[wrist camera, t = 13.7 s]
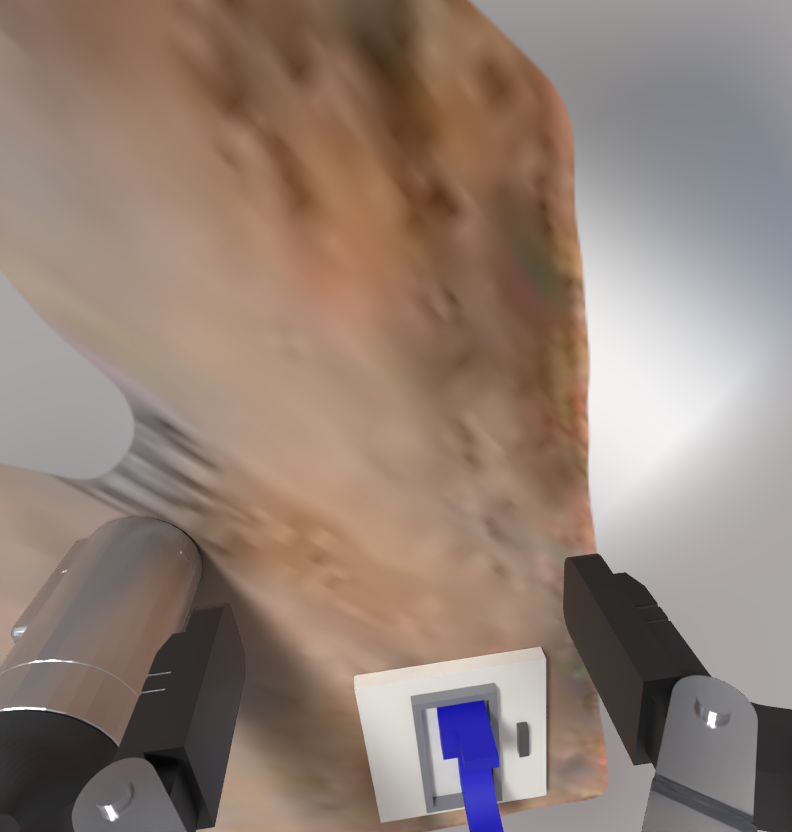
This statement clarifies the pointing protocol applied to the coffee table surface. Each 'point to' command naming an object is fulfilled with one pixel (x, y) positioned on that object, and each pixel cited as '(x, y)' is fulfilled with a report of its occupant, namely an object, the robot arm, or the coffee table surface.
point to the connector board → (420, 739)
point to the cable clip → (472, 760)
